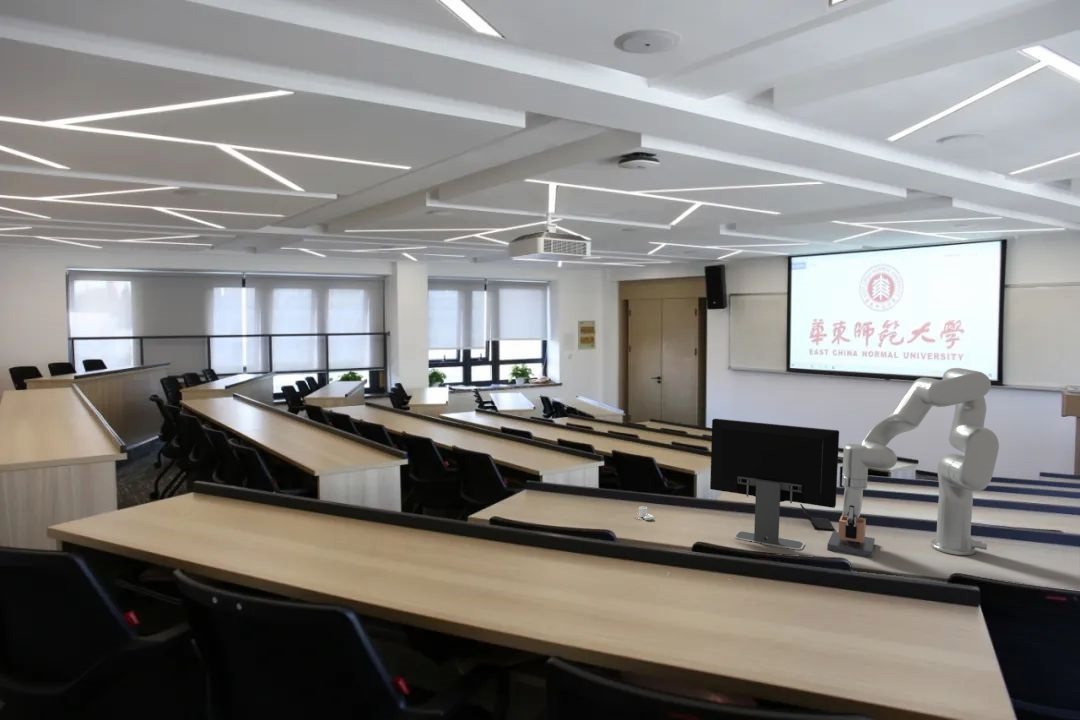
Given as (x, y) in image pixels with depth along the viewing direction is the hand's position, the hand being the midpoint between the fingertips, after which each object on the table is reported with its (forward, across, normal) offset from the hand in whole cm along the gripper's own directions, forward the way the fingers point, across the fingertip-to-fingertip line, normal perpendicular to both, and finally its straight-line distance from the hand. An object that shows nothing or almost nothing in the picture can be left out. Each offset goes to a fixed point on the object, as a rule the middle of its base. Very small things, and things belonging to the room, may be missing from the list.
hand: (852, 533), depth 221 cm
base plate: (+4, 0, 0) cm, 4 cm away
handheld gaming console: (+5, -18, -13) cm, 23 cm away
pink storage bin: (+1, 0, 0) cm, 1 cm away
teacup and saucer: (+5, +11, -71) cm, 72 cm away
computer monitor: (+5, +9, -25) cm, 27 cm away
